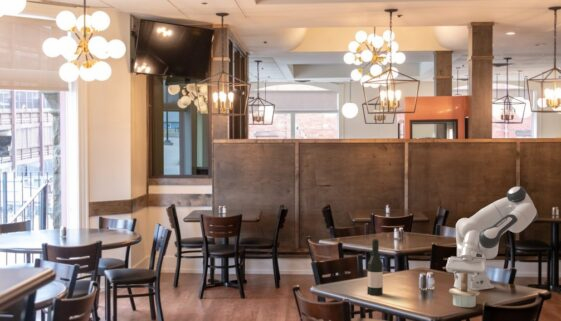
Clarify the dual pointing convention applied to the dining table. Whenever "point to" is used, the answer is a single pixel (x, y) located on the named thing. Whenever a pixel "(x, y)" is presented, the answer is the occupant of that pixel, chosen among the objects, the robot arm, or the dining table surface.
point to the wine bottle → (375, 271)
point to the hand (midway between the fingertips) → (464, 279)
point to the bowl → (464, 301)
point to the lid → (464, 288)
